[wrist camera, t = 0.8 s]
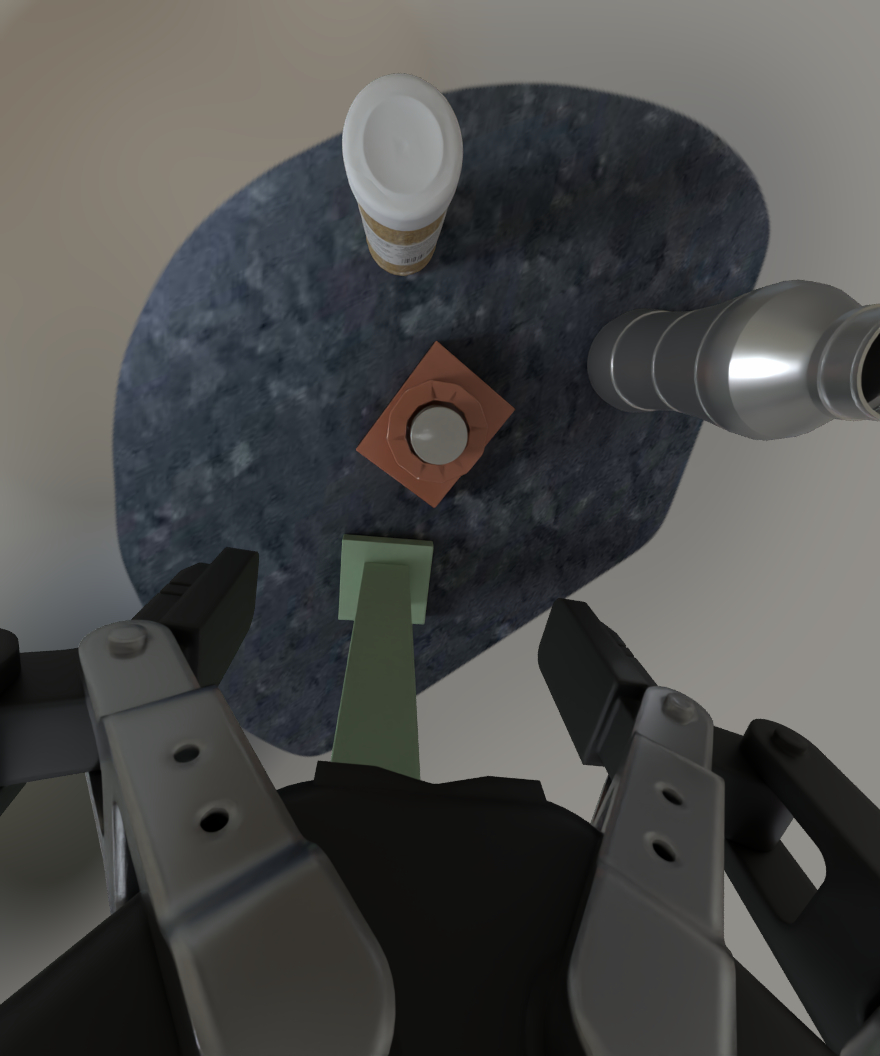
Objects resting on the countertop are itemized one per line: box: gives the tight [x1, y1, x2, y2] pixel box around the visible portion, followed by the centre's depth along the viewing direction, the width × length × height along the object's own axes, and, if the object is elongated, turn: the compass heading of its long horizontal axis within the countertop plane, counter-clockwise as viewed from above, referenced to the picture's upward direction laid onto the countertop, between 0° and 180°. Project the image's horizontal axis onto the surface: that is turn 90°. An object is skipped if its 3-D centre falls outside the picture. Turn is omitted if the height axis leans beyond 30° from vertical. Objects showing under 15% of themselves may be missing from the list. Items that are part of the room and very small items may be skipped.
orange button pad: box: [356, 341, 515, 508], centre depth 32 cm, size 9×7×4 cm
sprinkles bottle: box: [342, 73, 463, 276], centre depth 23 cm, size 5×5×13 cm
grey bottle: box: [587, 280, 880, 440], centre depth 24 cm, size 6×7×20 cm
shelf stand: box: [331, 534, 433, 780], centre depth 24 cm, size 11×7×30 cm, turn 83°
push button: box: [410, 405, 468, 465], centre depth 29 cm, size 4×4×2 cm
